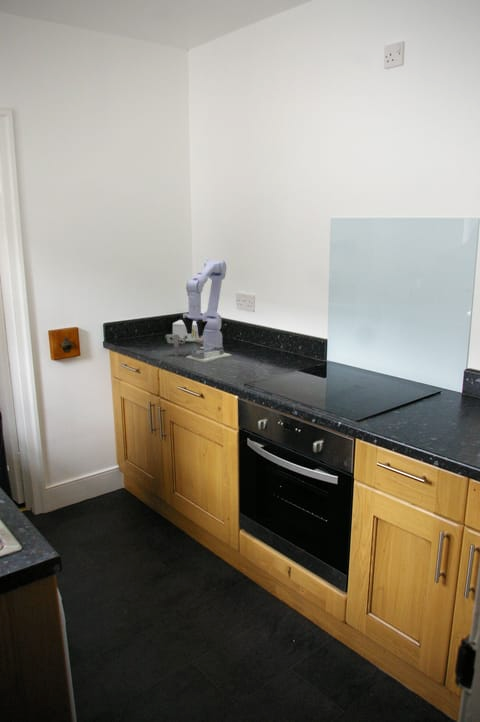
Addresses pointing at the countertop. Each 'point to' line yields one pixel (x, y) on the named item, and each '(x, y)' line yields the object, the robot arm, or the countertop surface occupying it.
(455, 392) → the countertop surface
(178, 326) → the supplement box
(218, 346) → the strip
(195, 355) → the board
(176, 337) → the mechanical component
